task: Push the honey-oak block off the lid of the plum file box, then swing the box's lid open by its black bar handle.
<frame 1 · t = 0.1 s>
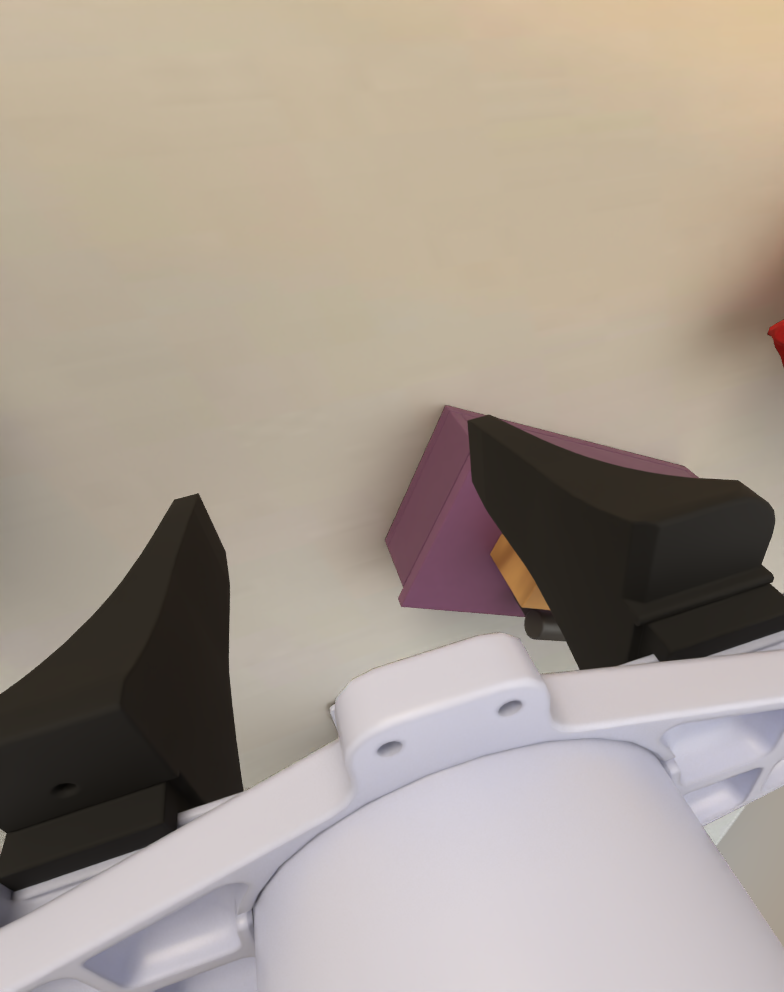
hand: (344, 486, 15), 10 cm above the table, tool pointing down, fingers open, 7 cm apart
block: (551, 528, 26), point 4 cm above the table
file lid: (589, 572, 27), point 5 cm above the table, hinge at -0.1°
file box: (541, 501, 31), on the table
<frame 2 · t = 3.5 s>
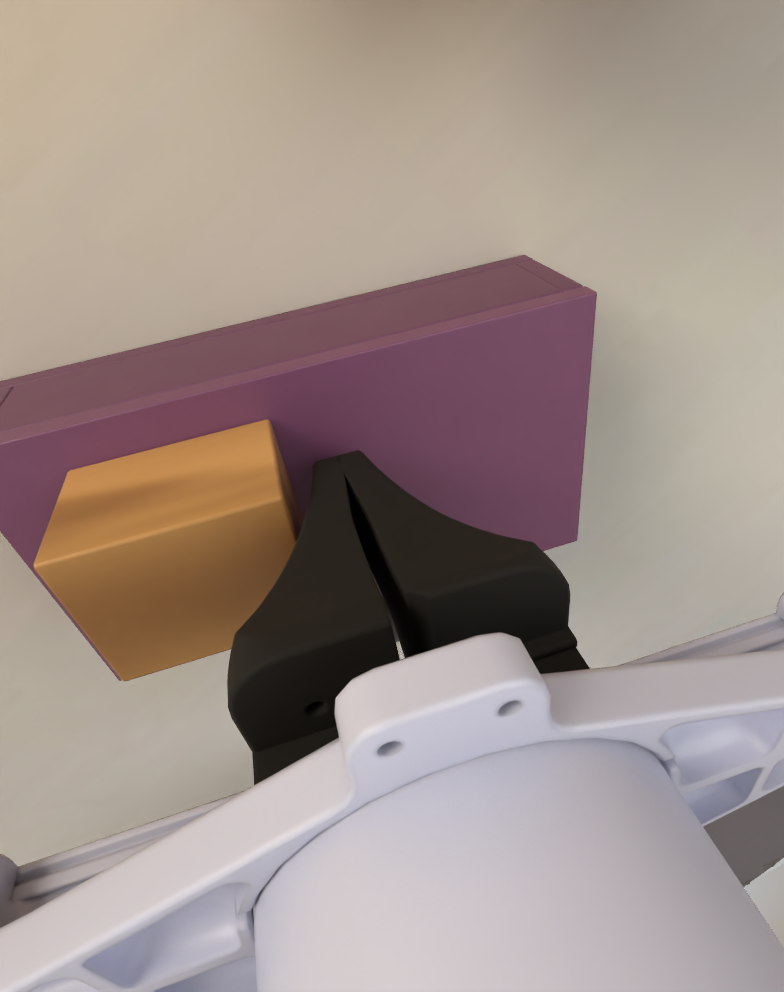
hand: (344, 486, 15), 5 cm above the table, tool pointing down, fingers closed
block: (199, 504, 15), point 4 cm above the table, touching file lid, gripper
bluetooth speaker: (617, 748, 41), on the table
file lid: (338, 534, 15), point 5 cm above the table, hinge at -0.4°, touching block, file box
file box: (308, 429, 19), on the table
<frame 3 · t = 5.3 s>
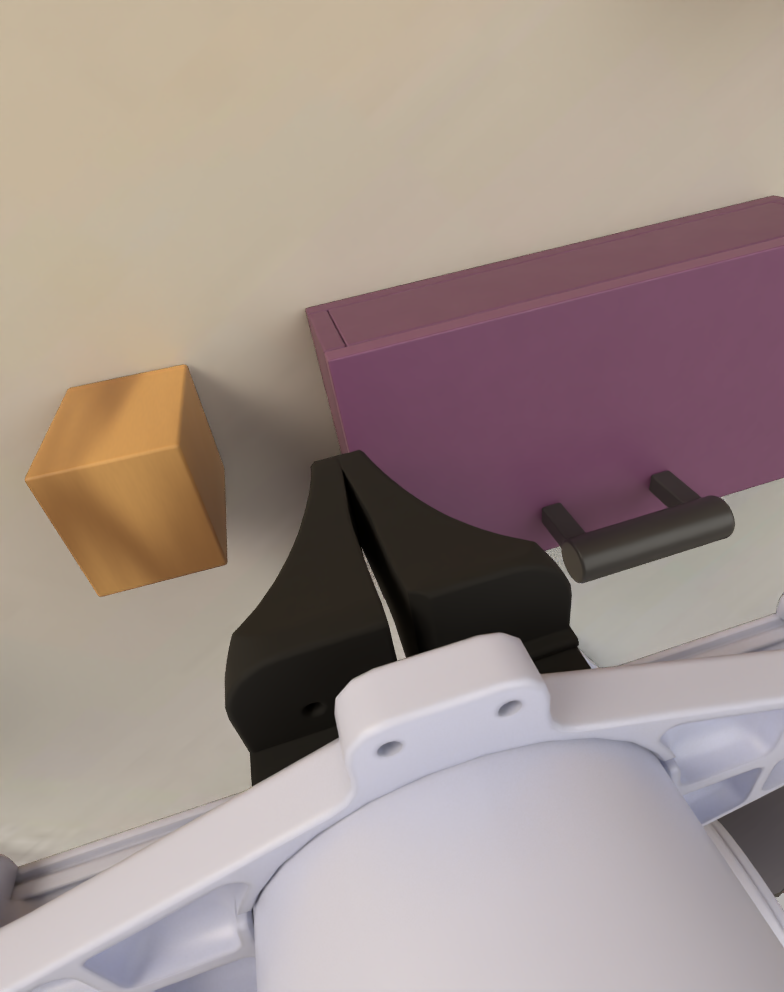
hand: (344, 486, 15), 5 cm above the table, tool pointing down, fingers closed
block: (206, 459, 16), point 2 cm above the table, tilted 90°
bluetooth speaker: (724, 711, 42), on the table
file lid: (635, 449, 16), point 5 cm above the table, hinge at -0.4°, touching file box
file box: (548, 366, 20), on the table
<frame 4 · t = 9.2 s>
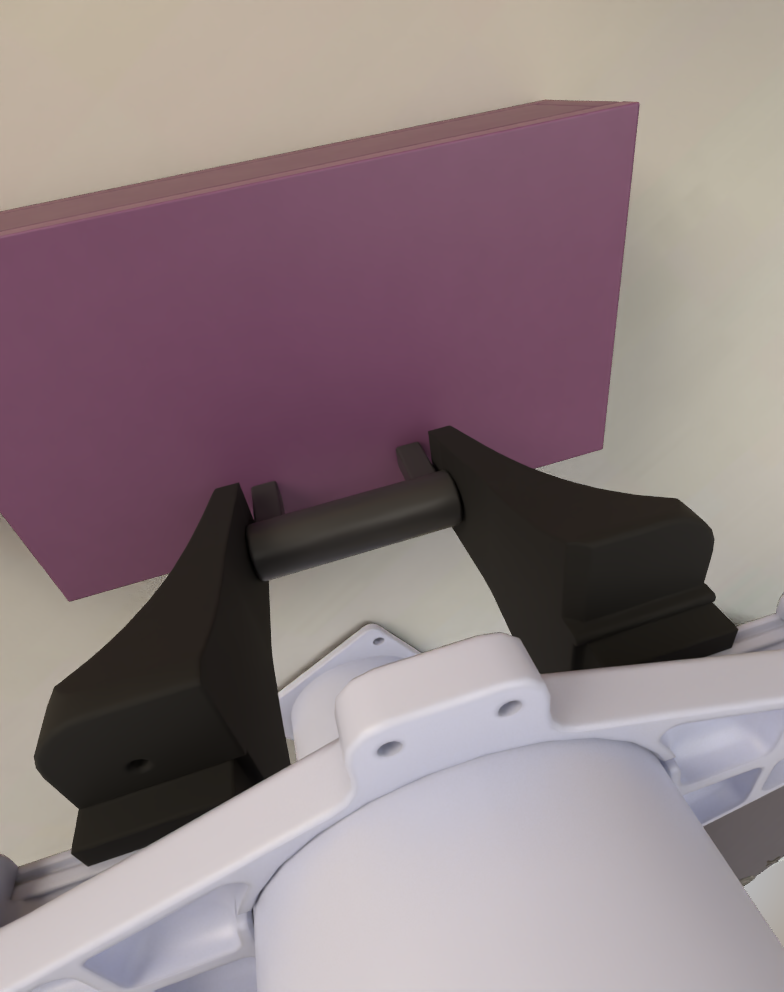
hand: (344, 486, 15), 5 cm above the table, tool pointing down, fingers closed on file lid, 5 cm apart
bluetooth speaker: (629, 722, 39), on the table
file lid: (324, 408, 13), point 5 cm above the table, hinge at -0.3°, touching gripper
file box: (292, 317, 17), on the table
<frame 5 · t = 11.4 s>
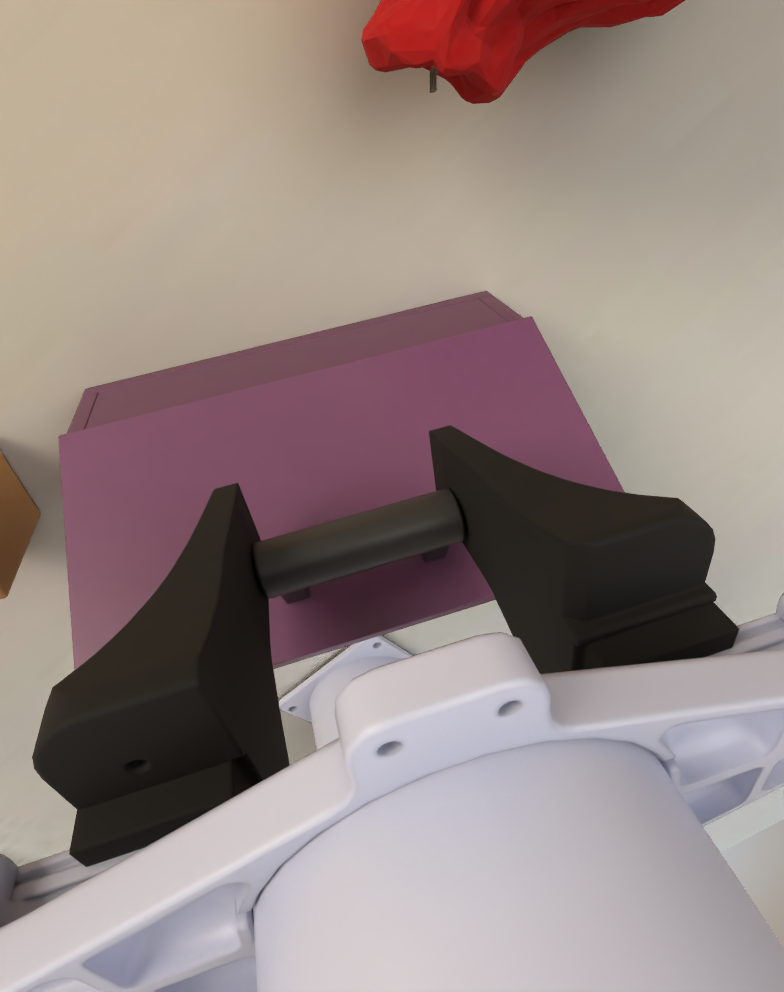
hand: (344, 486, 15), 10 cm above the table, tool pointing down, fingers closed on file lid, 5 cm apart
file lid: (337, 470, 16), point 9 cm above the table, hinge at 61.6°, touching gripper
file box: (318, 426, 24), on the table
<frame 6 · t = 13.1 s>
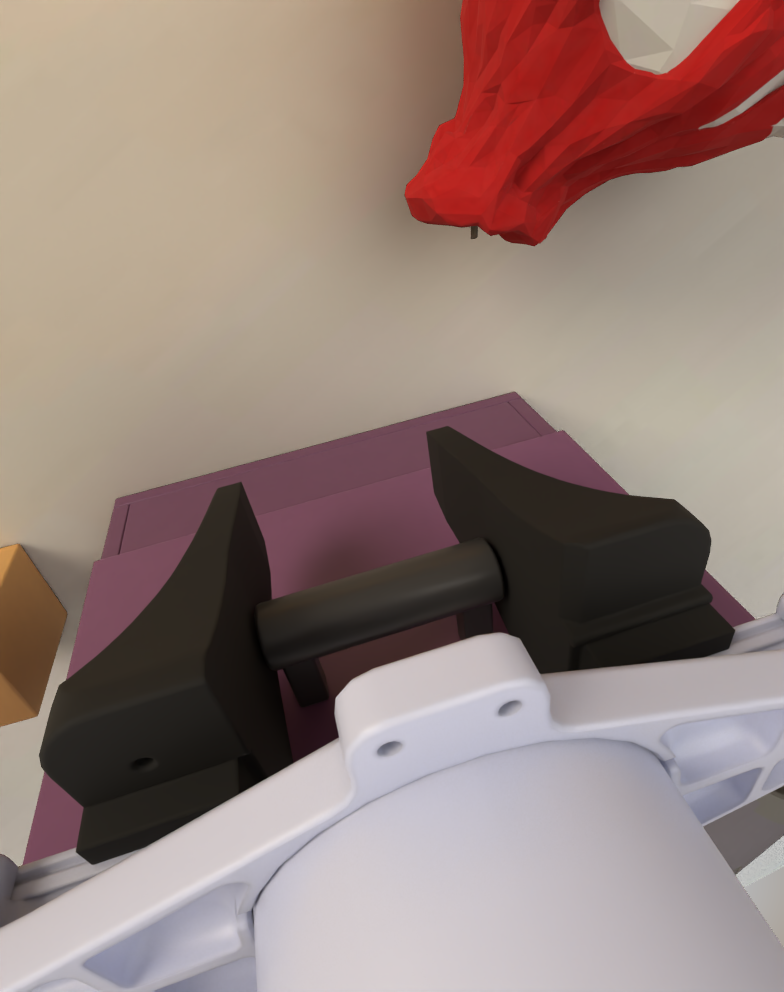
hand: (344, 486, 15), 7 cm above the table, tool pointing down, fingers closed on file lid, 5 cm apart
block: (29, 626, 20), point 2 cm above the table, tilted 90°
bluetooth speaker: (604, 768, 46), on the table
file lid: (362, 555, 14), point 8 cm above the table, hinge at 88.3°, touching gripper
file box: (344, 521, 24), on the table
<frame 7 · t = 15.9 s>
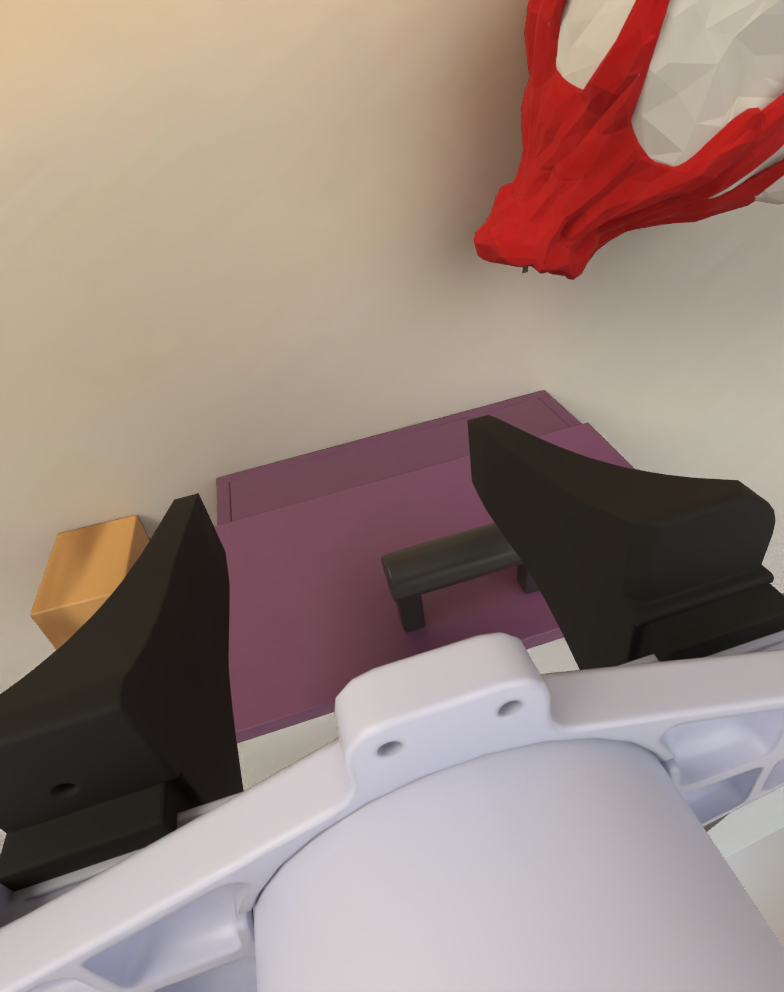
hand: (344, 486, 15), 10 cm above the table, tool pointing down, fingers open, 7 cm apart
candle: (603, 71, 20), on the table
block: (148, 582, 25), point 2 cm above the table, tilted 90°
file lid: (442, 521, 19), point 8 cm above the table, hinge at 86.3°
file box: (398, 499, 29), on the table
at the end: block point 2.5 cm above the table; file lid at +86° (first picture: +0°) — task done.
